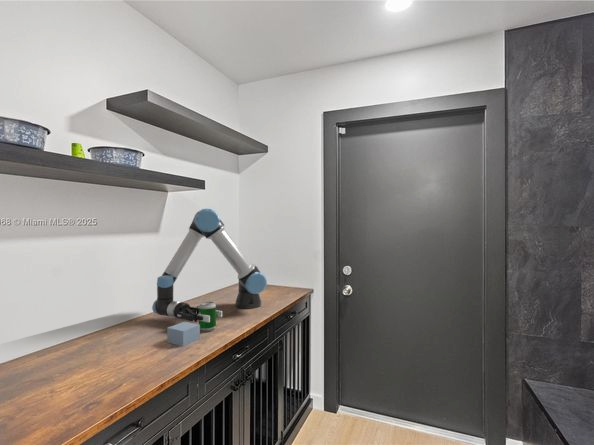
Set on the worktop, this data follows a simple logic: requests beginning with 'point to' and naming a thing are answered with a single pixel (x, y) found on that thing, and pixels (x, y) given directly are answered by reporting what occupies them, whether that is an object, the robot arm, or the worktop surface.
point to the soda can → (209, 310)
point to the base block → (183, 333)
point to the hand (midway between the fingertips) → (215, 316)
